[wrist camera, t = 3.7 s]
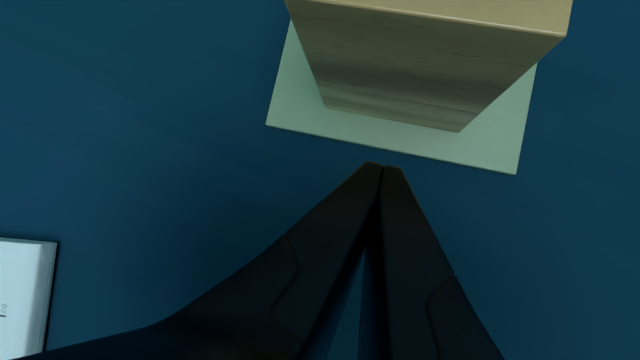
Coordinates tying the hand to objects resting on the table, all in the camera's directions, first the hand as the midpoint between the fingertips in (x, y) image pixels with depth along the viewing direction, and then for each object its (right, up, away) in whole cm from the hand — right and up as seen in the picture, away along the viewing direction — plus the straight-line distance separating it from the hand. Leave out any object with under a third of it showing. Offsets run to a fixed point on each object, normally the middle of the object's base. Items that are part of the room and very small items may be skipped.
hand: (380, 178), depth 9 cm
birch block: (+4, +9, +10) cm, 14 cm away
